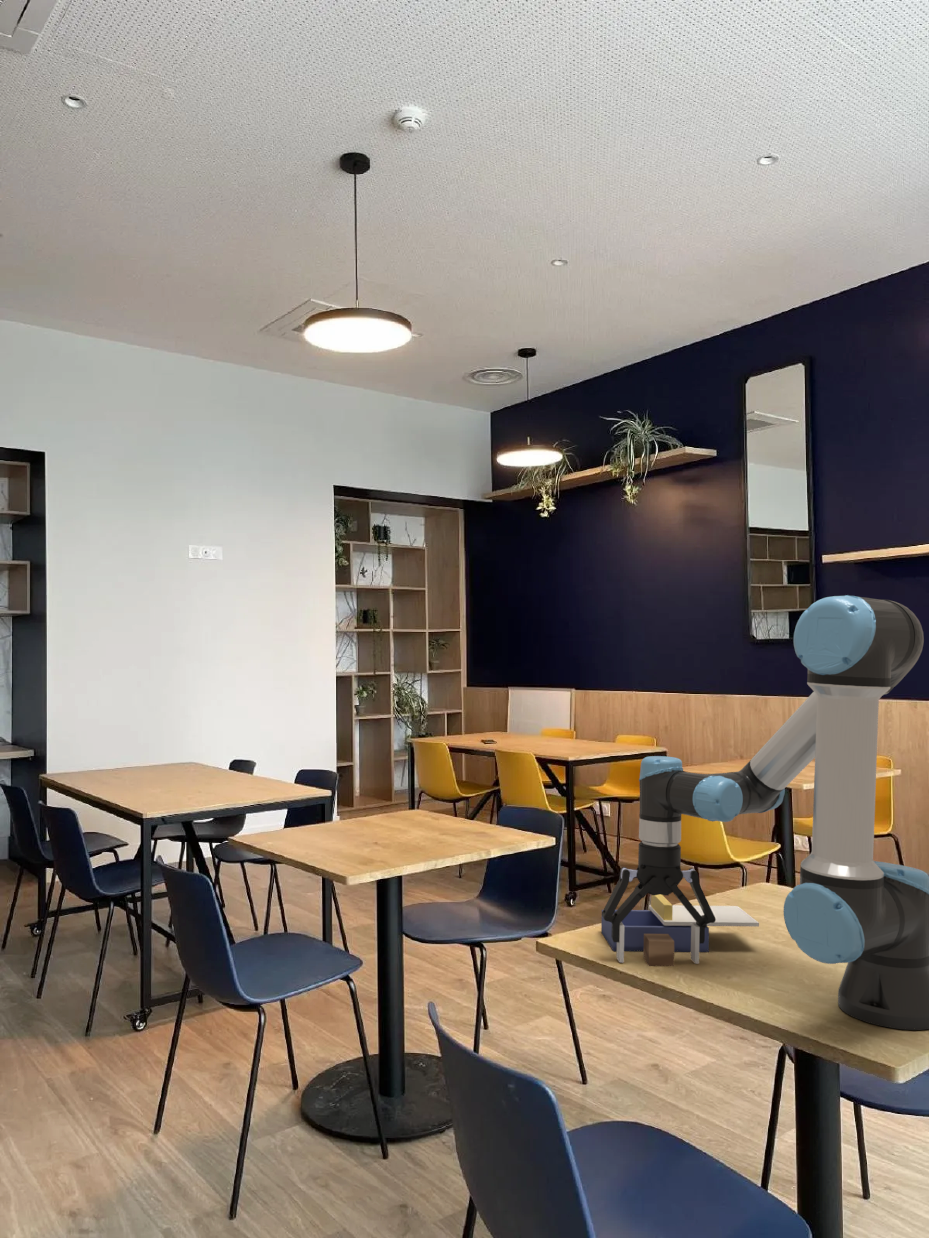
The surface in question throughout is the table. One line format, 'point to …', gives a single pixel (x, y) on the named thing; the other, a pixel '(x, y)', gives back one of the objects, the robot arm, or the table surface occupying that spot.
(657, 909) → the lid
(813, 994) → the table surface
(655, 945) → the block
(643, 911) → the blue tray
